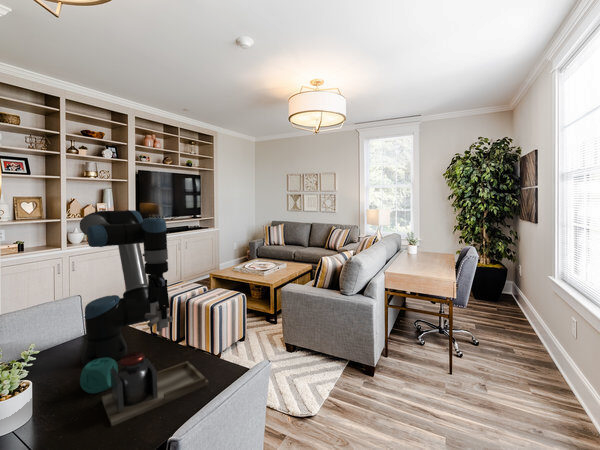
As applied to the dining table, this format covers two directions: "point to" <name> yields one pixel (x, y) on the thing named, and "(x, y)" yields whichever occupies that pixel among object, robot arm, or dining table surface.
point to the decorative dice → (97, 375)
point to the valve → (133, 381)
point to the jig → (160, 391)
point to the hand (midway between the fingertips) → (159, 323)
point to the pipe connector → (156, 318)
